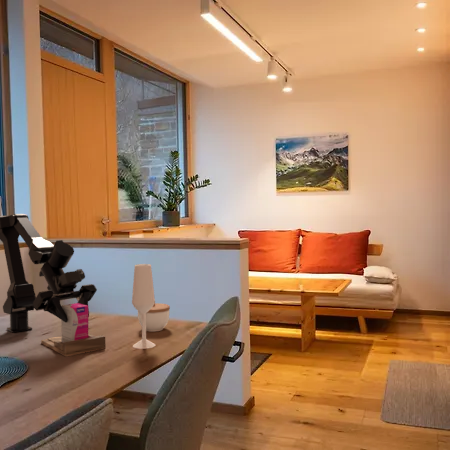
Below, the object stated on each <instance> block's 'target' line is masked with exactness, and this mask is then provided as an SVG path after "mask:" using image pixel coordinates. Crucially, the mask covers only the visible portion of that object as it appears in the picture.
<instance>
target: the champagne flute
mask: <svg viewBox="0 0 450 450" xmlns="http://www.w3.org/2000/svg"><path fill="white" fill-rule="evenodd" d="M153 279H154V278H153V270H152V264H148V263H140V264H134V272H133V284H132V297H131V298H132V299H131V304H132V306H133V308H134V309H135V310H137V312H138V311H139V312H140V313H142V326H141V340H138V341H137V342H136V343H134V344H133V345H132V348H134V349H139V350H143V349H144V350H145V349H151V348H154V347H156V343H153V342H152V341H151V340H148V339H147V331H146V313H147V312H148V311H149V310H150V309H151V308H152V307H153V305H154V303H156V299H155V290H154V282H153V281H154V280H153Z"/></svg>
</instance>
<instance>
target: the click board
mask: <svg viewBox="0 0 450 450" xmlns="http://www.w3.org/2000/svg"><path fill="white" fill-rule="evenodd" d="M40 341H41V343H40V344H41V345H43V346H45V347H47V348H49V349H51V350H53V351H55V352H56V353H58V354H61V355H63V356H64V357H71V356H76V355H80V354H85V352H86V353H90V351H91V352H94V351H100V350H104V349H106V336H105V335H103V334H102V335H97V336H96V335H94V334H89V333H88V338H85V339H79V340H74V341H69V342H61V336H55V337H49V338H47V339H42V340H40Z"/></svg>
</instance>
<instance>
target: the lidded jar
mask: <svg viewBox="0 0 450 450" xmlns="http://www.w3.org/2000/svg"><path fill="white" fill-rule="evenodd" d="M170 308H171V307H170V305H169V304H166V303H157V302H155V303H154V305H153V307H152V308H151V309H150V310H149V311H148V312H147V313H146V332H150V333H151V332H153V333H154V332H159V331H160V332H161V331H163V330H164V328H165V327H166V326H167V324H168V323H169V320H170ZM137 318H138V323H139V325H140V326H141V327H142V313H140V312H139V311H138V310H137Z"/></svg>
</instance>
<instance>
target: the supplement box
mask: <svg viewBox="0 0 450 450" xmlns="http://www.w3.org/2000/svg"><path fill="white" fill-rule="evenodd" d="M61 306H62V308H63V310H64V312H65V314H66V316H67V319H68V321H67V322H64V321H62V320H61V319H60V321H61V323H60V325H61V326H60V327H61V333H60V334H61V342H69V341H74V340H79V339H85V338H88V335H89V317H88V308H89V305H88V306H87V305H83V304H80V303H77V302H75V303H70V304H68V303H67V304H63V305H61Z"/></svg>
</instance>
